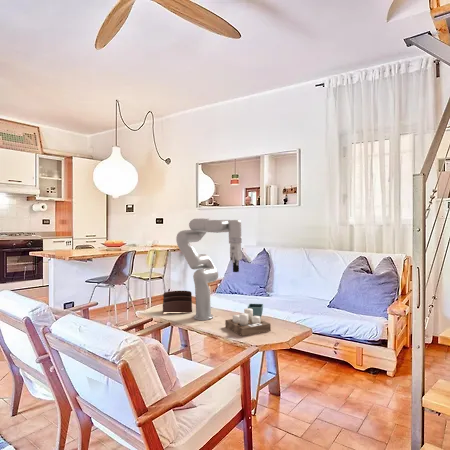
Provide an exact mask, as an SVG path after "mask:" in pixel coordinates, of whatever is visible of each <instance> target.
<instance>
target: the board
mask: <svg viewBox="0 0 450 450" xmlns="http://www.w3.org/2000/svg"><path fill="white" fill-rule="evenodd" d="M260 321H261V323H259V324H262V325H261V326H255V327H250V326H243V327H242V326H240V322H238V323H234V322H233V318H231V319H225V321H224V322H225V324H224V325H225V328H227V329H228V330H230V331H232V332H234V333H236V334H238V335H239V336H241V337H247V336H252V335H258V334H262V333H267V332H271V329H272V327H271V326H272V325H271V323H270V322H267V321H265V320H263V319H262V318H261V319H260ZM248 323H249V325H250V324H253V323H252V320H249V321H248Z"/></svg>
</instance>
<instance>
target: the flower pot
mask: <svg viewBox="0 0 450 450" xmlns="http://www.w3.org/2000/svg"><path fill="white" fill-rule="evenodd" d="M247 308H250V309H253V316H260V319H261V320H262V316H263V312H264V311H263V310H264V303H249V304H248V305H247Z"/></svg>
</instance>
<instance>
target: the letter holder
mask: <svg viewBox="0 0 450 450" xmlns="http://www.w3.org/2000/svg"><path fill="white" fill-rule="evenodd" d="M192 294H193V293H192V291H189V290H171V291H164V292H163V294H162V295H163V299H162V313H163V312H192V313H193V301H192V298H193V295H192Z"/></svg>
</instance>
